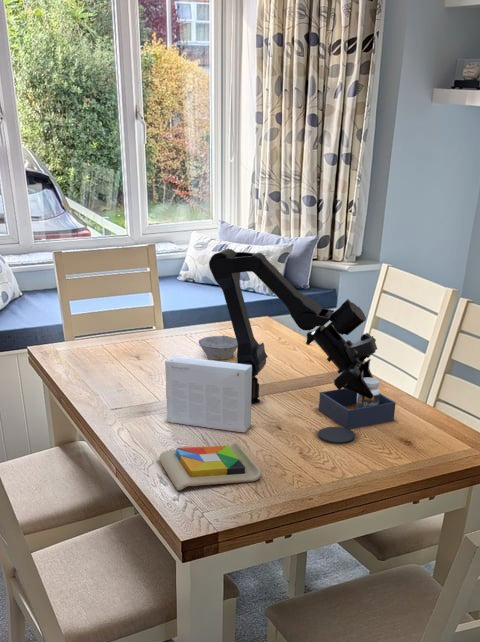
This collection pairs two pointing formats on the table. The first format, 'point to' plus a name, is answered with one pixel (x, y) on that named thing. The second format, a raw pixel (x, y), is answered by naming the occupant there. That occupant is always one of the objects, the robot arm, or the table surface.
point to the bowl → (218, 347)
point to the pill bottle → (373, 386)
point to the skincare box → (209, 393)
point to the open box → (349, 419)
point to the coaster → (336, 435)
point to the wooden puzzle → (208, 465)
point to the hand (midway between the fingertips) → (374, 393)
